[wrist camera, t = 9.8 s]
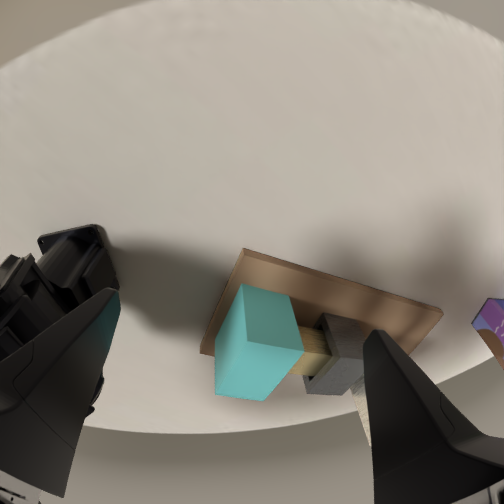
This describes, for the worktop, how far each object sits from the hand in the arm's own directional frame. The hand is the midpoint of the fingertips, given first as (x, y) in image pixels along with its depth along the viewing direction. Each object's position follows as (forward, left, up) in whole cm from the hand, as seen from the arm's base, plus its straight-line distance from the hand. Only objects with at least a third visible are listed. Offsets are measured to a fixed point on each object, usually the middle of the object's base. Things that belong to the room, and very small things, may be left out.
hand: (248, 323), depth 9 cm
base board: (+8, -15, -13) cm, 21 cm away
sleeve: (+7, -15, -12) cm, 20 cm away
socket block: (0, -11, -12) cm, 16 cm away
